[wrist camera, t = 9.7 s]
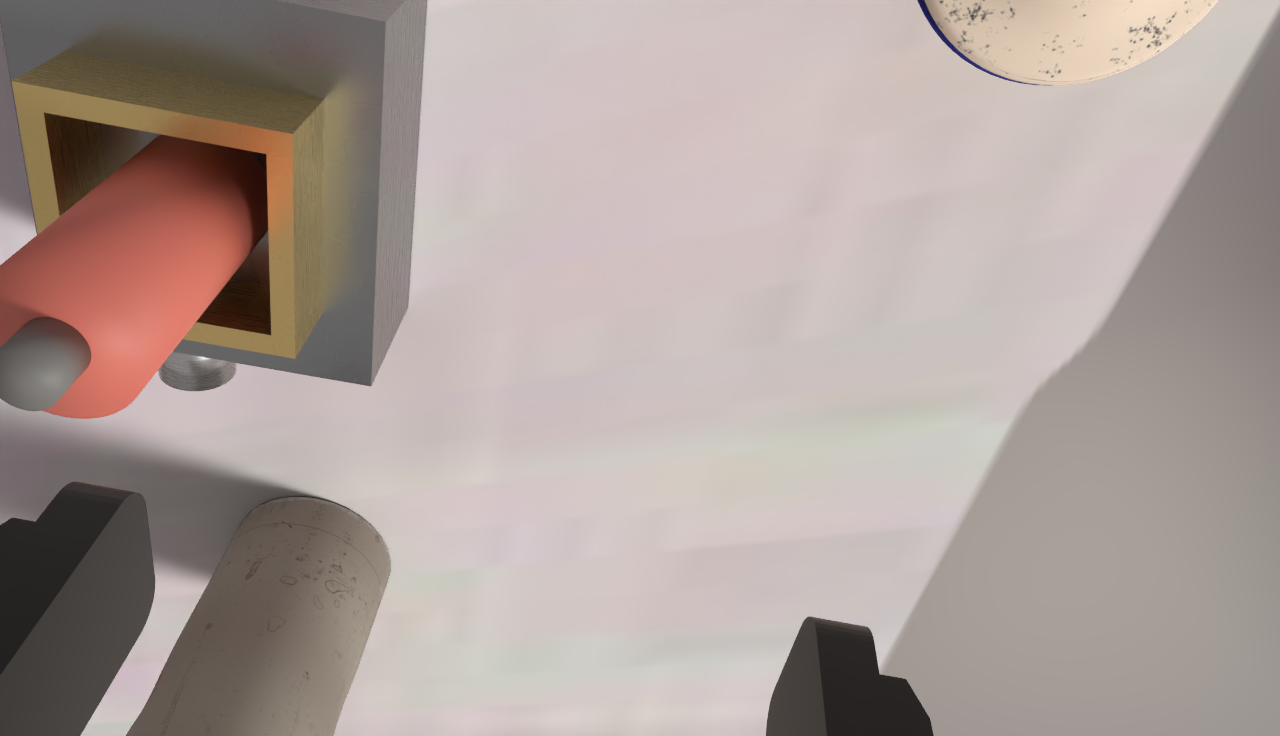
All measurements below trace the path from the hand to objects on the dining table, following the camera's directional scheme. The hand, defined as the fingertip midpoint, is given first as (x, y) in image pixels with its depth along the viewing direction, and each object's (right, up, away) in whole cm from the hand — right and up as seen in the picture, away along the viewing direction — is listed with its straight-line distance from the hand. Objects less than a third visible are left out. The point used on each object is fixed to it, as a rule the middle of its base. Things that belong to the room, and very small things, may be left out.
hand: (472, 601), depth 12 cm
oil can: (-13, +9, +22) cm, 27 cm away
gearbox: (-13, +11, +28) cm, 33 cm away
